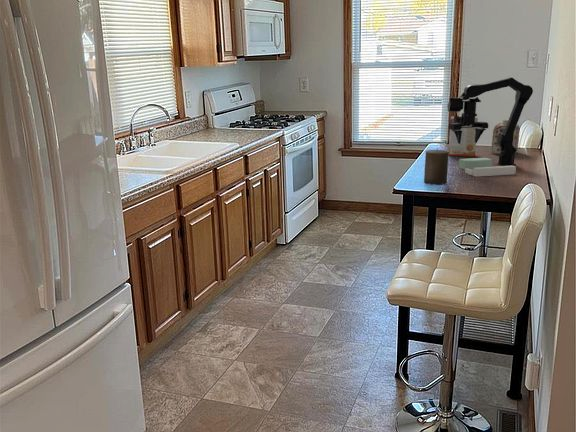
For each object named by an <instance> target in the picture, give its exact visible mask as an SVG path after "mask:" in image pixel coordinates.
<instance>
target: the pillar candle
mask: <svg viewBox="0 0 576 432" xmlns="http://www.w3.org/2000/svg"><path fill="white" fill-rule="evenodd" d="M448 154H449V150H444V149H439V148H436V149H428V150H425V156H424V157H425V161H424V174H423V175H424V177H423V183H425V184H429V185H436V186H437V185H439V186H440V185H445V184H447V183H448V168H449V167H448V166H449V155H448Z"/></svg>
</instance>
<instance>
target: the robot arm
mask: <svg viewBox="0 0 576 432" xmlns="http://www.w3.org/2000/svg"><path fill="white" fill-rule="evenodd" d="M507 87H509V88H510V89H512V90H513V91H515V96H514V97H515V98H514V101H515V102H514V104H513V106H512V110H511V112H510V115H509V117H508V123H507V125H506V128H505V130H504V132H503V133H502V134H501V133H499V135H498V138H497V139H496V141H497V146H498V147H499V148H500V150H501V151H502V152H500V154H498V155H499V157H498V162H497V163H496V164H498V165H500V166H516V163H515V159H516V156H515V155H516V151H517V150H516V149H515V148H514V146H513V145H512V144H513V135H514V131H515V128H516V125H518V123H519V120H520V117H521V115H522V112H523V109H524V107H525V105H526V104H527V102H528V101H529V100H530V99H531V97H532V95H533V93H534V90H533V87H532V86H531V85H528V84H524V83H522V82H521V81H518V80H517V79H515V78H514V77H511V76H507V77H506V78H503V79H499V80H494V81H491V82H486V83H481V84H468V85H466V86H465V87H464V89H463V92H462V94H461V95H460V96H459V97H449V100H448V104H447V112H450V113H451V112H454V113H455V112H459V113H460V112H461V111H463V112H462V113H461V115H460V116H461V117H459V115H453V116H454V123H450V122H449V124H448V130H450V129H451V131H454V133H455V135H456V138H457V141H458V144H460V142H461V135H462V130H461V128H472V127H476V128H475V131H476V133H475V143H476V144H477V143H478V141H479V140H480V138H481V136H482V135H483V133H484V131H486V129H489V122H487V121H486V122H485V121H478V122H475V117H478V113H476V112H477V103H481V102H482V100H481V99H479V97H478V96H481V95H483V94H484V93H487V92H490V91H494V90H498V89H502V88H503V89H504V88H507ZM517 152H518V151H517Z"/></svg>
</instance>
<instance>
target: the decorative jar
mask: <svg viewBox="0 0 576 432" xmlns="http://www.w3.org/2000/svg"><path fill="white" fill-rule="evenodd" d="M508 120H509V119H508ZM508 120H507V119H504V120H502V122H500V123H496V124H495V125H494V127H493V129H492V130H493V131H492V137H491V138H492V139H491V148H490V149H491V150H490V153H491V154H494V155H500V152H502V151H501V150H500V148H499V147H498V146H497V141H496V139H497V138H498V135H499V133H501V134H502V133H503V132H504V130H505V128H506V125H507V123H508ZM520 128H521V127H520V125H519V124H517V125H516V128H515V131H514V135H513V144H512V145H513V146H514V148H515V149H516V150H517V151H516V153H518V150H519V141H520V131H521V129H520ZM516 153H515V154H516Z"/></svg>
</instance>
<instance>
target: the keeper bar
mask: <svg viewBox="0 0 576 432" xmlns="http://www.w3.org/2000/svg"><path fill="white" fill-rule="evenodd" d="M458 161H459V162H458V168H460V169H462V170H464V171H465V168H468V169H471V170H473V168H477V167H493V159H491V158H487V157H475V158H474V157H473V158H459V160H458Z"/></svg>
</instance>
